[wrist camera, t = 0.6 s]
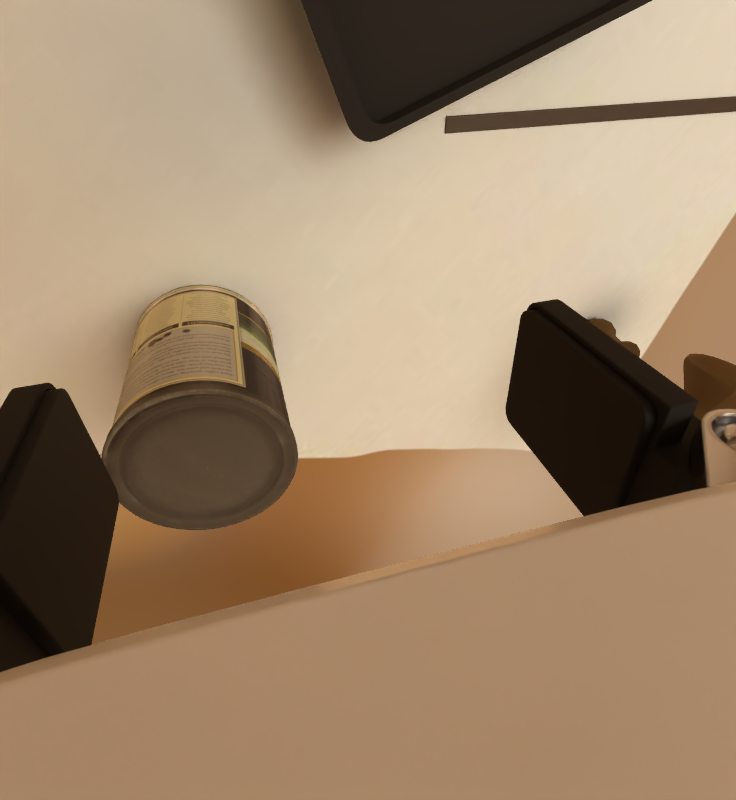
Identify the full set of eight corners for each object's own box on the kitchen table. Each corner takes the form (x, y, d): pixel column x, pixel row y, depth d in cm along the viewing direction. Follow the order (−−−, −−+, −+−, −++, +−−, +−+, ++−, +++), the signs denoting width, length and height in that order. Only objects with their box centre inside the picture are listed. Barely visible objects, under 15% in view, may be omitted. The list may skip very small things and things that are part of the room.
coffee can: (296, 319, 39) (331, 429, 28) (237, 415, 42) (247, 545, 31) (166, 257, 33) (145, 360, 22) (112, 372, 37) (72, 509, 26)
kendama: (634, 299, 46) (850, 426, 31) (584, 383, 51) (749, 530, 36) (586, 288, 44) (792, 420, 29) (539, 377, 49) (693, 531, 34)
